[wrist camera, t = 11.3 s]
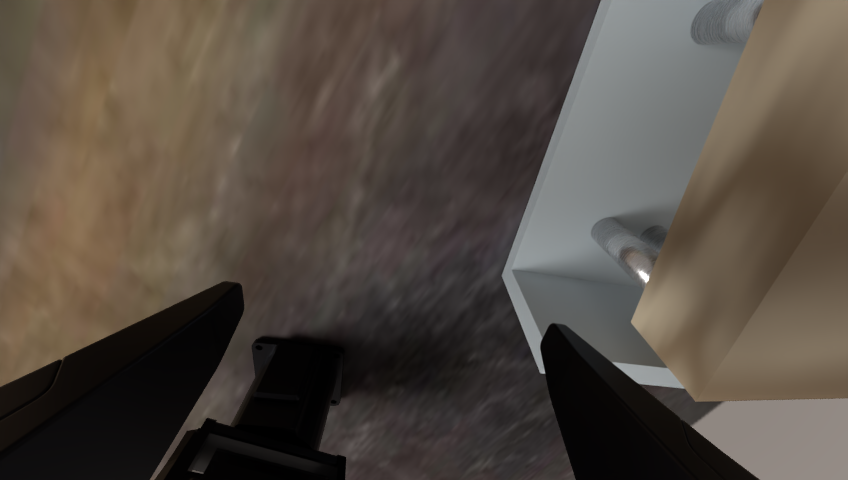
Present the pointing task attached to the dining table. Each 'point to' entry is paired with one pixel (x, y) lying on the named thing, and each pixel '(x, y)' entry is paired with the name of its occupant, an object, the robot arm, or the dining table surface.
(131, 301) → the dining table surface
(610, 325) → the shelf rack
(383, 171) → the dining table surface
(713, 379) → the shelf board
